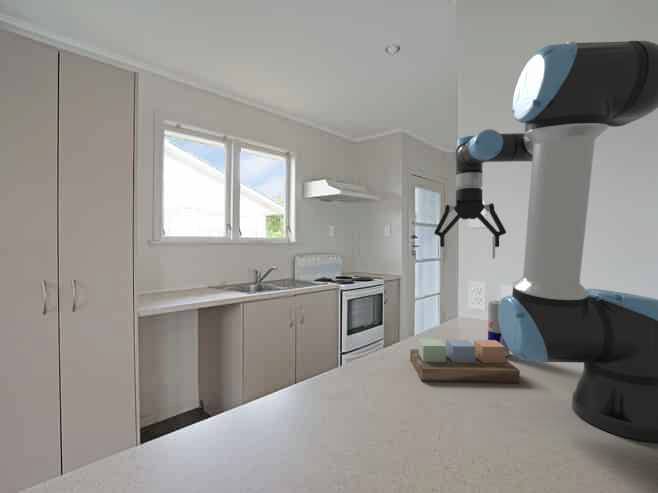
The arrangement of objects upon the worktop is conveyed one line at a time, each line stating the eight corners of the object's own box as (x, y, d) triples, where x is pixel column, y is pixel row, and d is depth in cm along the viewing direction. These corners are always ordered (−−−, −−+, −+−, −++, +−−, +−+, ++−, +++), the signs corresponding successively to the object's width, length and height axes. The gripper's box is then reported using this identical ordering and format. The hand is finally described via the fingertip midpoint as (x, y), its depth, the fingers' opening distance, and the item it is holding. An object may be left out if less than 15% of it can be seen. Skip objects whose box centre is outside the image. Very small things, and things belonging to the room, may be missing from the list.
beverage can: (504, 351, 101) (505, 300, 101) (513, 357, 95) (513, 303, 95) (484, 350, 101) (485, 299, 101) (491, 357, 96) (492, 303, 96)
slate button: (475, 362, 83) (475, 346, 83) (452, 362, 84) (452, 346, 83) (467, 355, 89) (467, 339, 89) (446, 355, 89) (446, 339, 89)
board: (519, 383, 79) (519, 370, 79) (421, 381, 80) (421, 368, 80) (493, 361, 93) (493, 350, 93) (410, 360, 94) (410, 349, 94)
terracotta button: (505, 363, 83) (505, 346, 83) (482, 363, 83) (482, 346, 83) (495, 355, 88) (495, 340, 88) (473, 355, 89) (474, 339, 88)
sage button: (445, 362, 84) (446, 346, 83) (423, 362, 84) (423, 345, 84) (439, 354, 89) (439, 339, 89) (418, 354, 89) (418, 339, 89)
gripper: (512, 188, 105) (512, 258, 106) (427, 192, 114) (427, 257, 114) (516, 184, 98) (516, 258, 98) (426, 189, 107) (425, 257, 107)
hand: (468, 258), depth 106 cm, fingers open, 13 cm apart
